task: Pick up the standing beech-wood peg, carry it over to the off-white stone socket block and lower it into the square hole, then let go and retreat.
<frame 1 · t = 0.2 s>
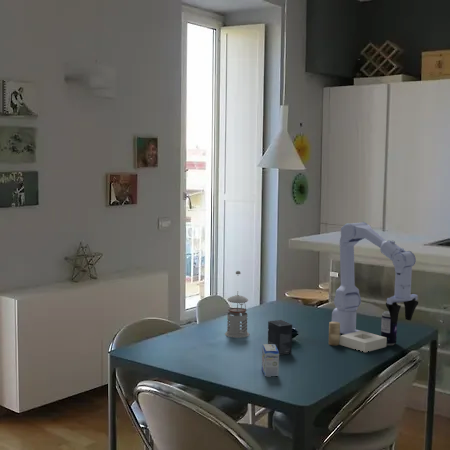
hand: (401, 321, 256), 10 cm above the table, fingers open, 7 cm apart
medicine box: (270, 373, 226), on the table
box: (279, 352, 251), on the table
socket block: (362, 345, 259), on the table
beech peg: (333, 344, 261), on the table
beverage can: (388, 344, 262), on the table
french press: (237, 334, 273), on the table
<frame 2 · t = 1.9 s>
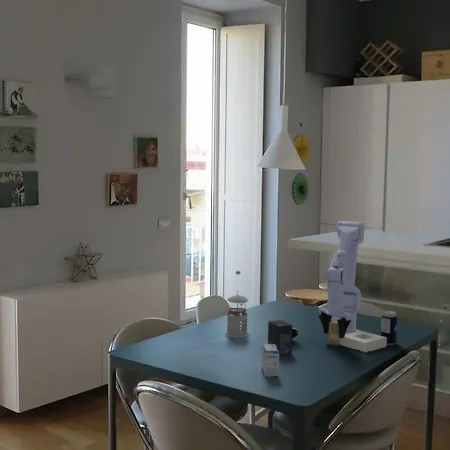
hand: (334, 335, 261), 3 cm above the table, fingers open, 7 cm apart
nothing on the table moved.
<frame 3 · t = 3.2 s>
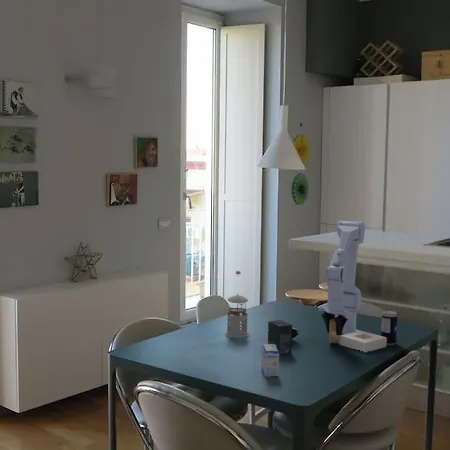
hand: (334, 333, 261), 4 cm above the table, fingers closed on beech peg, 4 cm apart
beech peg: (334, 341, 261), point 1 cm above the table, touching gripper
everything else where it was.
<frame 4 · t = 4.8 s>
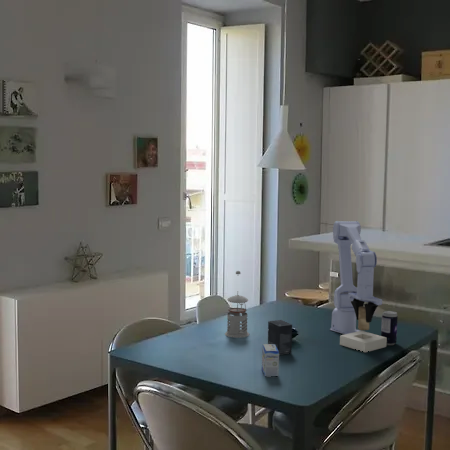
hand: (363, 320, 258), 9 cm above the table, fingers closed on beech peg, 4 cm apart
beech peg: (363, 328, 258), point 6 cm above the table, touching gripper
everything else where it was.
when the fingers open (4 cm above the table, at t = 6.4 s): beech peg stays where it is, resting in socket block.
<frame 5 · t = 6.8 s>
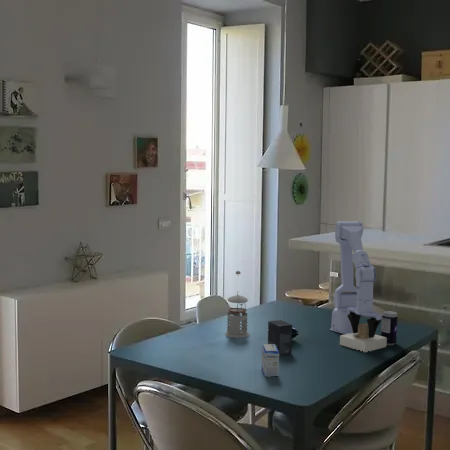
hand: (363, 335, 259), 4 cm above the table, fingers open, 7 cm apart
beech peg: (362, 345, 259), resting in socket block
everything else where it was.
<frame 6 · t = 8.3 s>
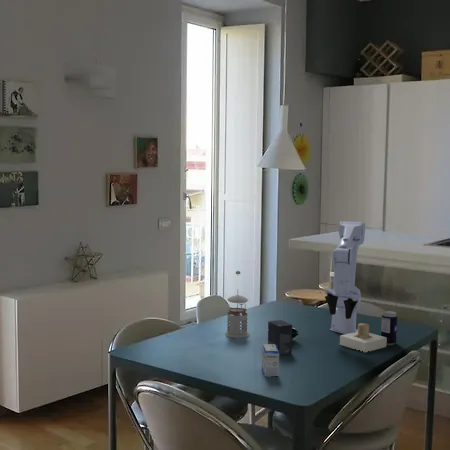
hand: (340, 316, 260), 10 cm above the table, fingers open, 7 cm apart
nothing on the table moved.
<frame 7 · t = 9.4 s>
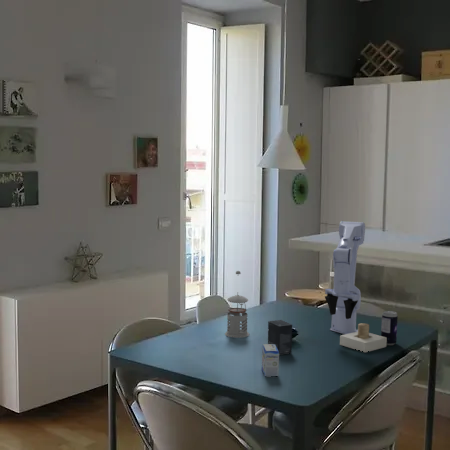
hand: (340, 316, 260), 10 cm above the table, fingers open, 7 cm apart
nothing on the table moved.
at the end: beech peg 0.0 cm off-centre on the socket block, point 0.0 cm above the socket block's base; beech peg tilted 0°; the gripper is holding nothing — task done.
